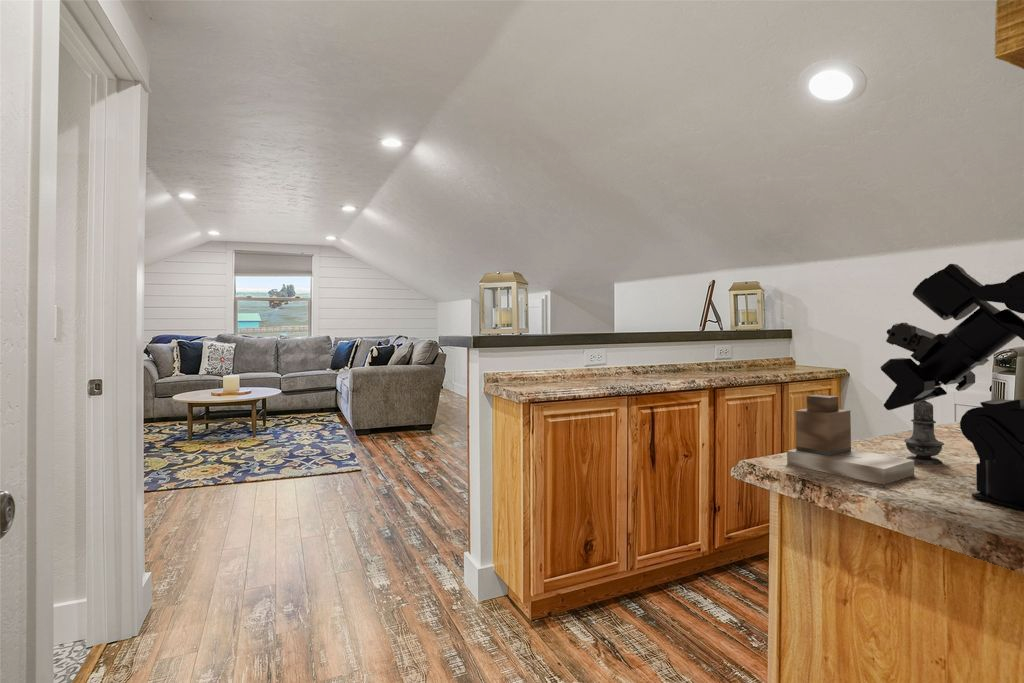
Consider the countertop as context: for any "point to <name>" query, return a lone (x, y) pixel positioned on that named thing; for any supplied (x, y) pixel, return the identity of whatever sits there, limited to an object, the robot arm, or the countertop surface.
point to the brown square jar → (823, 427)
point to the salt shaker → (923, 436)
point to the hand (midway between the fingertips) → (886, 407)
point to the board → (856, 465)
